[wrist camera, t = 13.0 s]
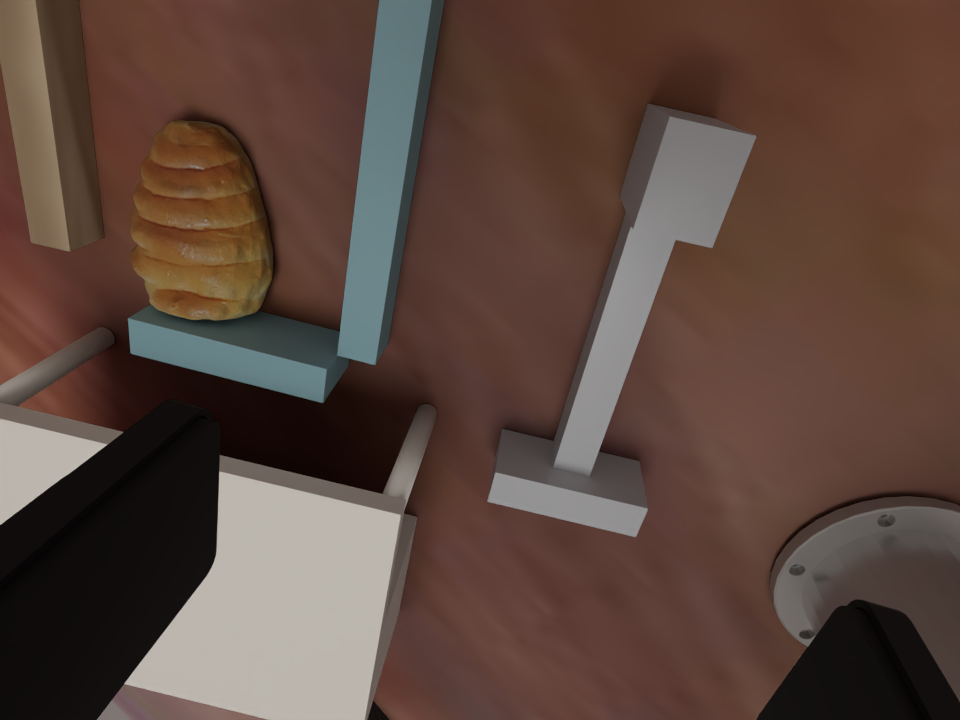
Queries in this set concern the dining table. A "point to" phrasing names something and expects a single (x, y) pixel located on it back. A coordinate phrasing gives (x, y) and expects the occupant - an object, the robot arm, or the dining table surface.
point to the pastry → (201, 225)
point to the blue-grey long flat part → (373, 249)
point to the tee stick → (625, 322)
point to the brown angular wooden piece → (51, 120)
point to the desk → (252, 565)
